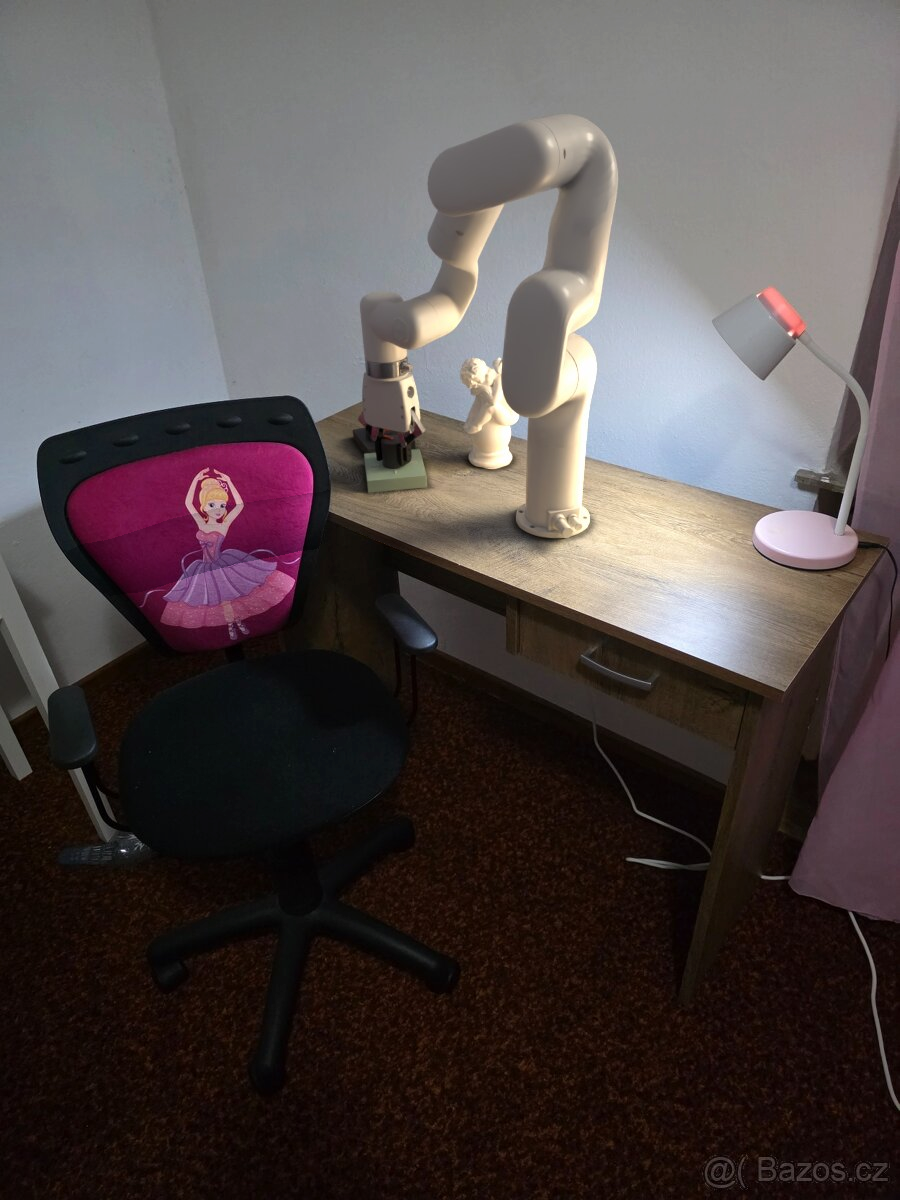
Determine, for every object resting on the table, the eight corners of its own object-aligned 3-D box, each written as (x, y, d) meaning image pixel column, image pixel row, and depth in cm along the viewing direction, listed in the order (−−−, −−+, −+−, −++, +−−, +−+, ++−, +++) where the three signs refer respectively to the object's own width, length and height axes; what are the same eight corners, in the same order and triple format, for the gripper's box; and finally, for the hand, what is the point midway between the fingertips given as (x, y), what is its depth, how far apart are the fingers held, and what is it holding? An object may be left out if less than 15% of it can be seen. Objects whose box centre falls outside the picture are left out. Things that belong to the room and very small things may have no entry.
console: (427, 487, 150) (426, 474, 148) (368, 492, 149) (367, 480, 147) (420, 460, 159) (419, 448, 158) (365, 465, 158) (363, 452, 157)
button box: (415, 450, 163) (414, 432, 161) (368, 459, 160) (367, 441, 158) (398, 431, 172) (396, 413, 169) (353, 439, 169) (351, 421, 166)
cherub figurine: (457, 466, 157) (454, 354, 144) (473, 440, 166) (472, 334, 154) (518, 472, 154) (520, 359, 141) (531, 446, 163) (534, 337, 151)
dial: (410, 462, 153) (408, 437, 150) (394, 471, 150) (392, 444, 147) (393, 457, 155) (391, 431, 152) (377, 465, 152) (375, 439, 149)
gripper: (438, 367, 141) (442, 462, 151) (360, 353, 148) (368, 445, 158) (415, 380, 135) (421, 478, 146) (335, 366, 143) (346, 460, 153)
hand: (393, 460), depth 152 cm, fingers closed on dial, 4 cm apart
